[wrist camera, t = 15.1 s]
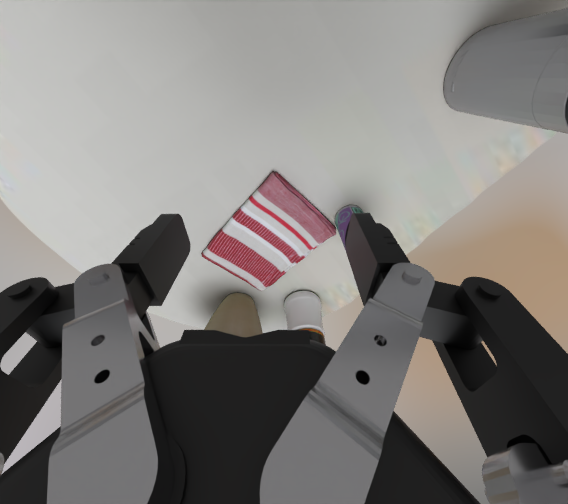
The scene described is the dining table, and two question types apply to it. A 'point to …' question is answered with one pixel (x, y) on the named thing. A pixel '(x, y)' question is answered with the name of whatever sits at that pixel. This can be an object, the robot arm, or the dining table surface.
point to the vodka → (305, 314)
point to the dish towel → (269, 234)
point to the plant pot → (236, 316)
